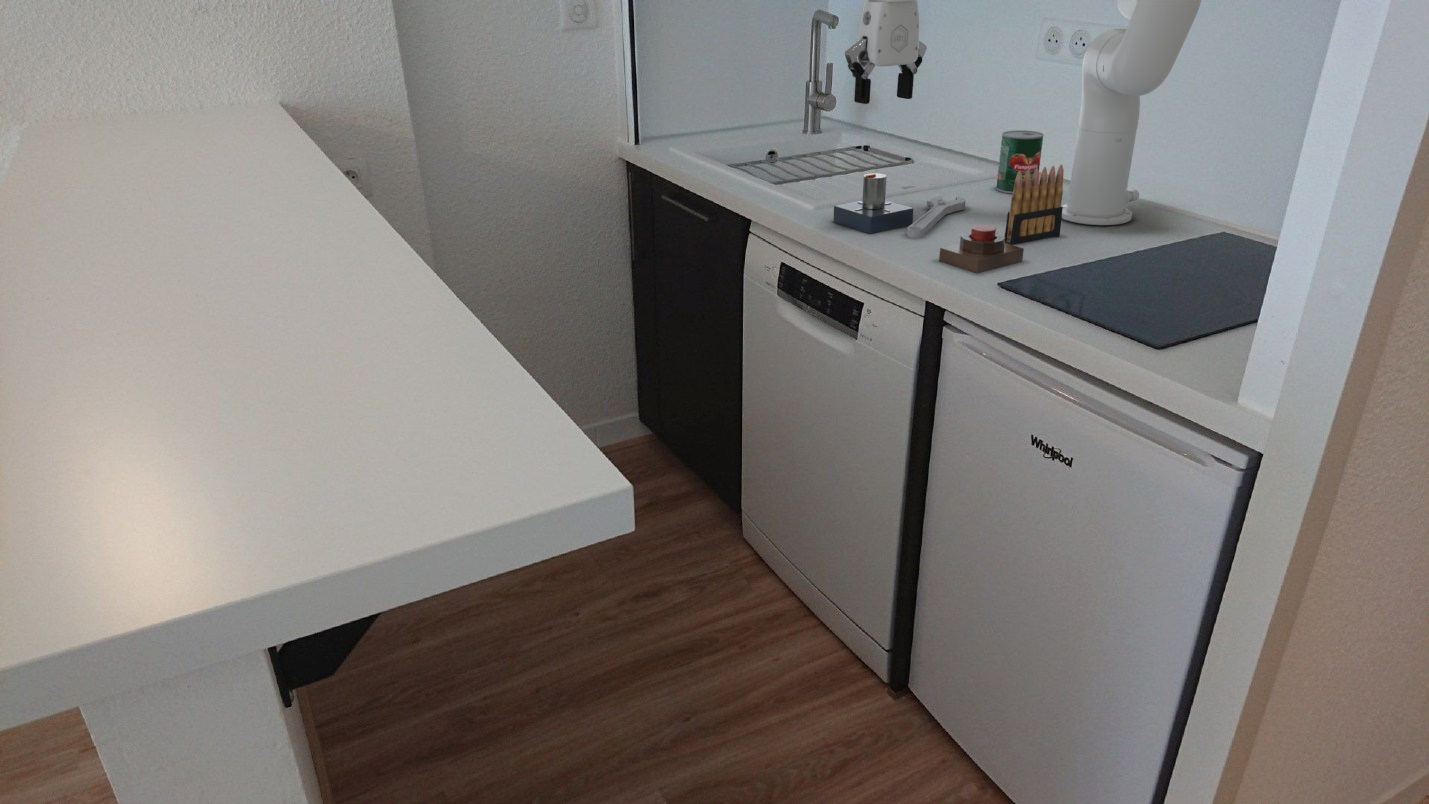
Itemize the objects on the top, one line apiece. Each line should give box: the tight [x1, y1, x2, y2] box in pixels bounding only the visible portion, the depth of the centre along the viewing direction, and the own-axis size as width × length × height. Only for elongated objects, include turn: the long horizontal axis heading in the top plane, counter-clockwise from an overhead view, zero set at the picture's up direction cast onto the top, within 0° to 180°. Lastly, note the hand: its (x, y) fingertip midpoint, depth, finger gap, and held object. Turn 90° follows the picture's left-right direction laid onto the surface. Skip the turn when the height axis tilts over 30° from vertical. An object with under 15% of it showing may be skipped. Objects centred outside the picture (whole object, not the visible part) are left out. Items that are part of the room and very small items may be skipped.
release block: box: [938, 231, 1025, 274], centre depth 148 cm, size 10×8×4 cm
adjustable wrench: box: [906, 196, 966, 239], centre depth 172 cm, size 25×6×2 cm, turn 148°
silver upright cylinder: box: [861, 172, 888, 209], centre depth 169 cm, size 4×4×6 cm
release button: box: [970, 224, 997, 241], centre depth 147 cm, size 4×4×2 cm
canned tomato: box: [995, 129, 1045, 195], centre depth 190 cm, size 8×8×11 cm
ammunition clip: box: [1003, 164, 1064, 246], centre depth 157 cm, size 11×2×12 cm, turn 116°
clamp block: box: [833, 199, 915, 235], centre depth 170 cm, size 10×10×3 cm
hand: (883, 100), depth 162 cm, fingers open, 9 cm apart
